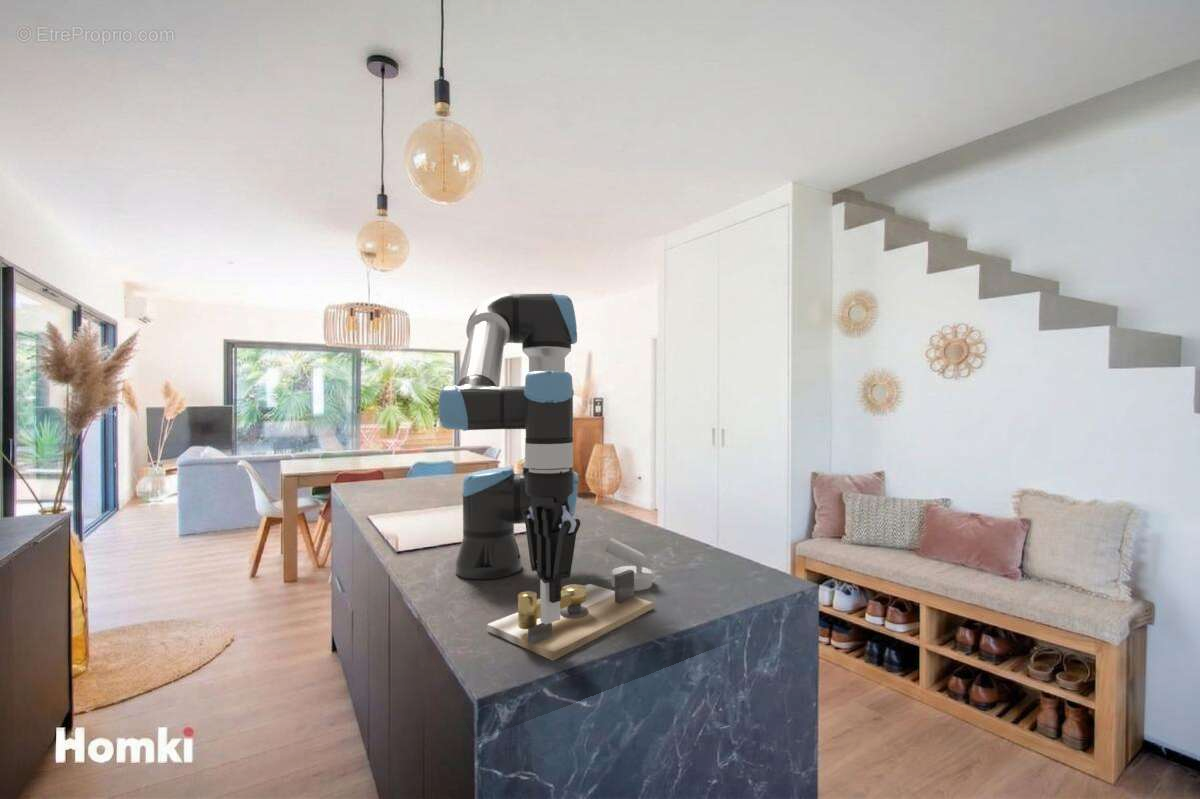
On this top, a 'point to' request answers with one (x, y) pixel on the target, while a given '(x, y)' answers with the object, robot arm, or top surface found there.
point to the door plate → (577, 620)
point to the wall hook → (633, 557)
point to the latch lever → (531, 604)
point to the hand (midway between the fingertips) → (550, 620)
